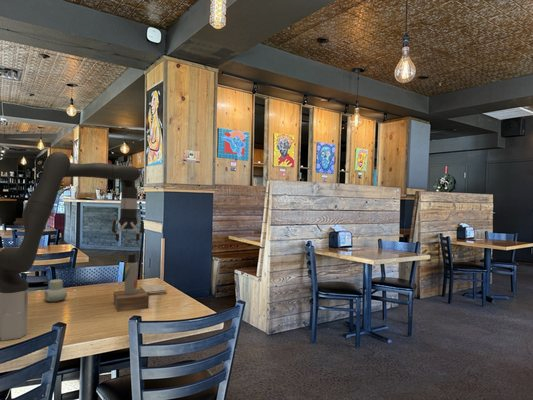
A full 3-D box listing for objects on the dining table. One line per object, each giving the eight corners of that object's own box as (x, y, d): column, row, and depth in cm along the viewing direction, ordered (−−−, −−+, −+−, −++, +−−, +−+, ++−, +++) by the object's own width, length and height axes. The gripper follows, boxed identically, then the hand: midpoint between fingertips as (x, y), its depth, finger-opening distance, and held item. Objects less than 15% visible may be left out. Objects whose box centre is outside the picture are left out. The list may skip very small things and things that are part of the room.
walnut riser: (148, 308, 178) (148, 295, 178) (117, 311, 171) (117, 299, 171) (142, 300, 190) (142, 289, 190) (113, 303, 183) (113, 291, 183)
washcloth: (146, 297, 198) (146, 291, 198) (138, 289, 214) (139, 284, 214) (168, 294, 204) (168, 289, 204) (159, 287, 220) (159, 282, 220)
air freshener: (43, 299, 186) (43, 279, 186) (61, 296, 192) (61, 277, 192) (49, 304, 179) (49, 283, 178) (67, 301, 184) (68, 281, 184)
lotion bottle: (138, 292, 183) (139, 252, 183) (134, 295, 177) (136, 254, 177) (126, 292, 183) (128, 251, 183) (122, 295, 177) (124, 253, 177)
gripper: (113, 207, 171) (112, 242, 171) (145, 208, 178) (144, 242, 177) (112, 207, 177) (110, 240, 177) (142, 208, 184) (141, 240, 184)
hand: (127, 241), depth 177 cm, fingers open, 8 cm apart
